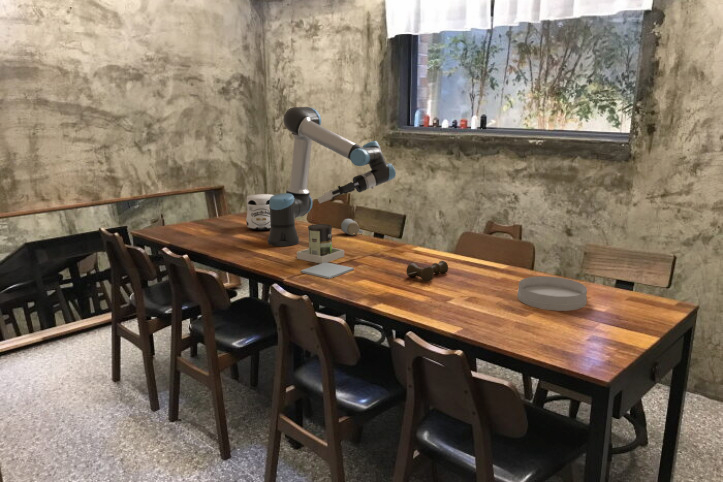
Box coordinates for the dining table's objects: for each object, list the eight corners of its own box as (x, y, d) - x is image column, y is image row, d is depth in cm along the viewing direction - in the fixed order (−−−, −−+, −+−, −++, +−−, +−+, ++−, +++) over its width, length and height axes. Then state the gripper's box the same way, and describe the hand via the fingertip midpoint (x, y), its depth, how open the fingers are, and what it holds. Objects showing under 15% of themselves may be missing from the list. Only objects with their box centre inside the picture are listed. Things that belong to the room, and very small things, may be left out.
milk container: (257, 233, 287) (255, 199, 283) (240, 228, 299) (238, 196, 295) (285, 228, 298) (283, 196, 294) (267, 224, 311) (266, 192, 306)
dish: (532, 285, 199) (533, 272, 198) (595, 298, 186) (596, 284, 185) (506, 301, 183) (506, 287, 182) (573, 316, 169) (574, 301, 168)
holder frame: (297, 258, 237) (296, 251, 237) (319, 251, 249) (319, 245, 248) (322, 263, 229) (322, 257, 228) (344, 256, 240) (344, 249, 239)
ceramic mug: (347, 236, 278) (347, 221, 277) (340, 233, 285) (340, 219, 284) (366, 234, 283) (366, 220, 281) (359, 231, 290) (359, 217, 288)
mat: (300, 272, 217) (300, 270, 217) (325, 263, 229) (325, 262, 229) (329, 278, 208) (329, 276, 208) (353, 269, 220) (353, 267, 220)
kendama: (453, 276, 212) (416, 285, 200) (435, 271, 220) (398, 280, 207) (453, 261, 211) (416, 269, 199) (435, 257, 218) (398, 264, 206)
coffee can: (333, 254, 244) (332, 223, 240) (331, 260, 234) (330, 228, 230) (310, 254, 244) (309, 223, 241) (307, 260, 234) (306, 228, 231)
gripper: (375, 185, 237) (331, 202, 231) (359, 193, 261) (319, 209, 255) (368, 169, 237) (324, 186, 231) (353, 179, 261) (312, 194, 254)
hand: (321, 198), depth 243 cm, fingers open, 13 cm apart
